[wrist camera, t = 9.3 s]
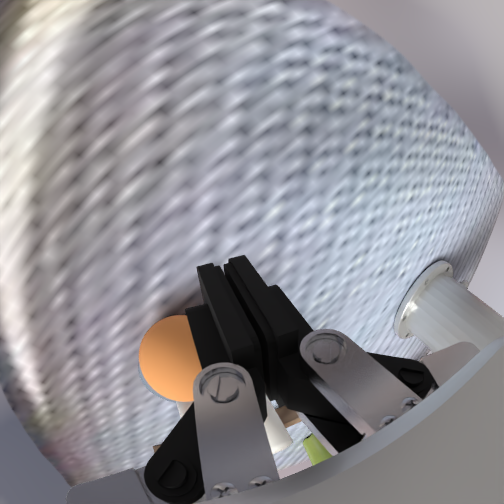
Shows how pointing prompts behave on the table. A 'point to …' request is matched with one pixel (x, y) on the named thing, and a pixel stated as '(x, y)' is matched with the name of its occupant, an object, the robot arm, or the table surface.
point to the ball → (170, 358)
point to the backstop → (284, 414)
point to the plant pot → (316, 450)
